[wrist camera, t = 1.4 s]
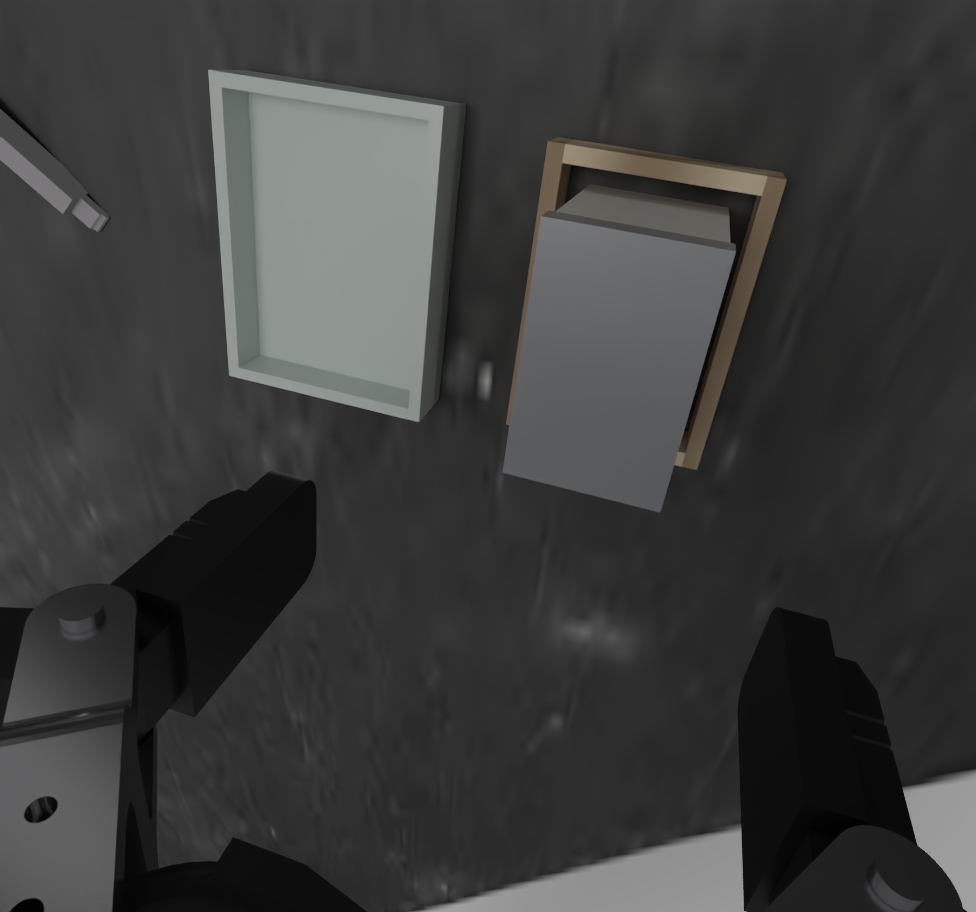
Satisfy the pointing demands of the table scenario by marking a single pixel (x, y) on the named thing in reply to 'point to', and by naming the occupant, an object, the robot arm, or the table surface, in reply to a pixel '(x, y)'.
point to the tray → (336, 236)
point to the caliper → (46, 174)
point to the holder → (746, 271)
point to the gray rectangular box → (616, 341)
